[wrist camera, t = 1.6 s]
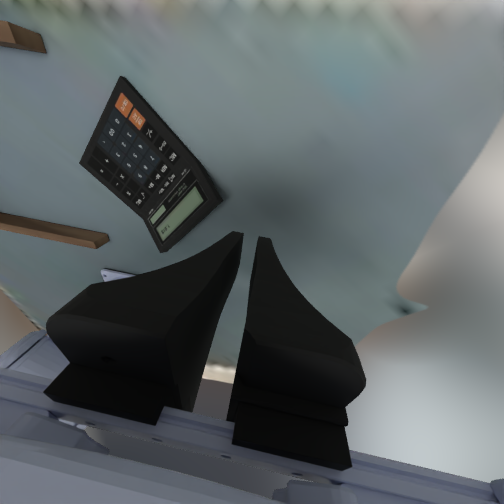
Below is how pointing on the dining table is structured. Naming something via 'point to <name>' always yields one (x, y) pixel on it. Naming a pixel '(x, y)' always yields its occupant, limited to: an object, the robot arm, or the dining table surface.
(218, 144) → the dining table surface
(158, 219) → the calculator
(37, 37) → the brown angled flat piece
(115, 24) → the dining table surface
